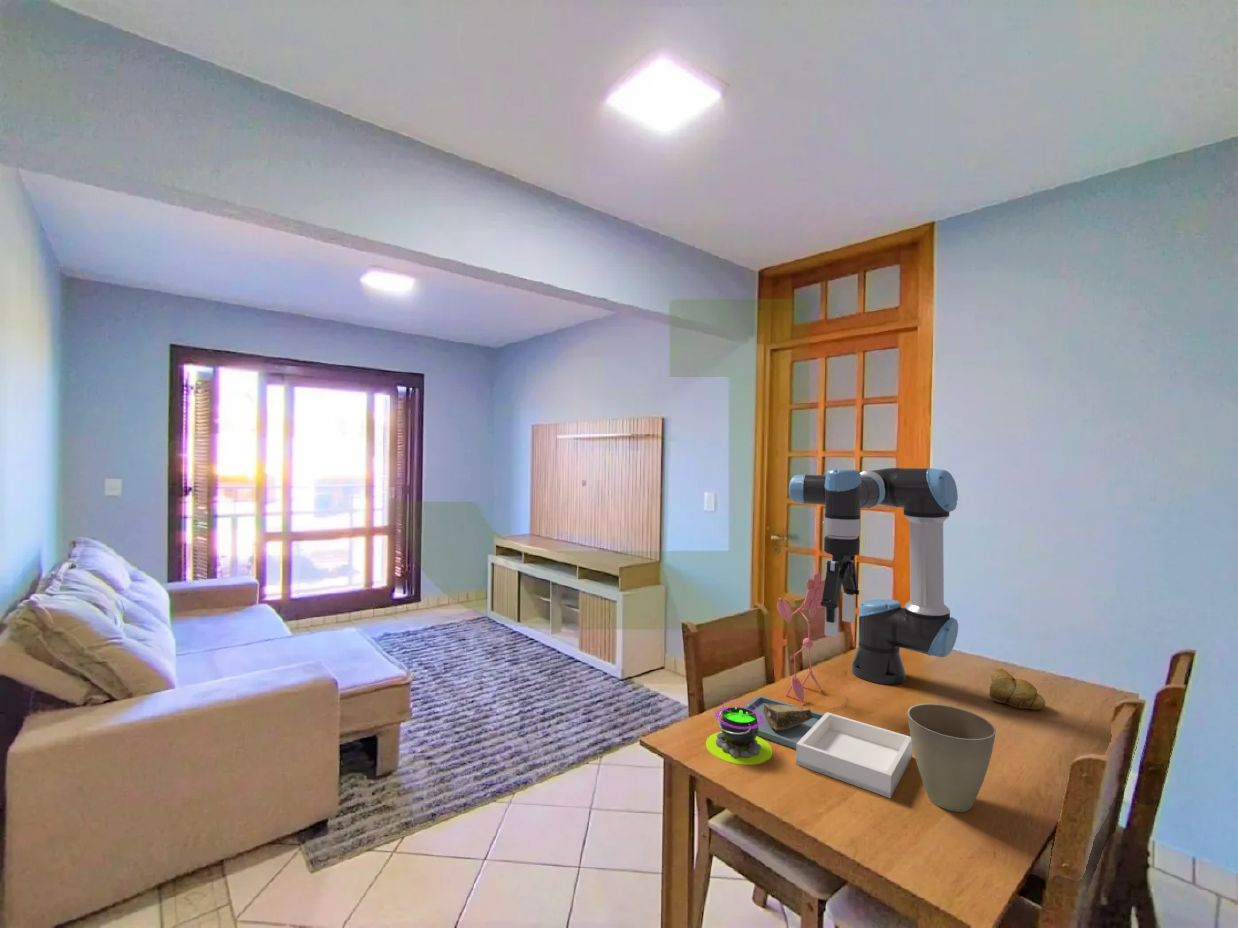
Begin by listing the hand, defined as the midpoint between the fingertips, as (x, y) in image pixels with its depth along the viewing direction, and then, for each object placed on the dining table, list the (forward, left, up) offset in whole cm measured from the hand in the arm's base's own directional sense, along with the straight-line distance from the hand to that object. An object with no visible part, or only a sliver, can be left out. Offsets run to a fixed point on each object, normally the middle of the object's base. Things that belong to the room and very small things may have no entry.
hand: (840, 628), depth 129 cm
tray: (-3, -15, -28) cm, 32 cm away
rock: (-4, -18, -29) cm, 35 cm away
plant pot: (+6, +23, -28) cm, 37 cm away
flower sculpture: (-24, -13, -28) cm, 39 cm away
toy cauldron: (+14, -18, -28) cm, 36 cm away
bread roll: (-57, +30, -28) cm, 70 cm away
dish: (+3, +5, -28) cm, 28 cm away
